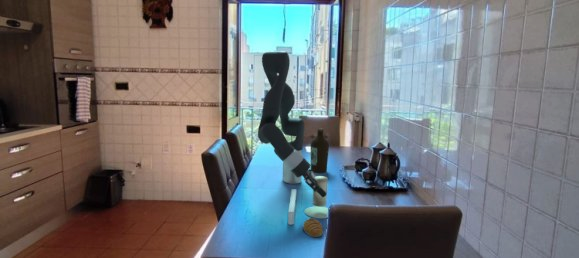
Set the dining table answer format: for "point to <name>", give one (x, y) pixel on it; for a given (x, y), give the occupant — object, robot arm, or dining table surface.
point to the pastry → (313, 227)
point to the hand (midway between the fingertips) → (324, 193)
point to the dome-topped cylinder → (317, 198)
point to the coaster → (317, 212)
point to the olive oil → (319, 153)
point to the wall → (292, 207)
